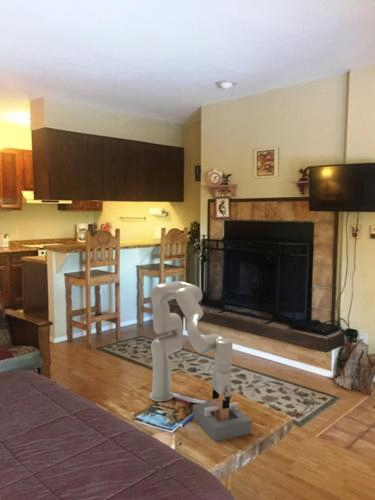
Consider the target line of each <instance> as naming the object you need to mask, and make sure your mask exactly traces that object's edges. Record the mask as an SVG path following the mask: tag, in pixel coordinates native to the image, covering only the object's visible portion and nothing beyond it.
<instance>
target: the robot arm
mask: <svg viewBox="0 0 375 500" xmlns="http://www.w3.org/2000/svg"><path fill="white" fill-rule="evenodd" d="M174 299H175V301H176V303H177V305H178V306H179V308H180V310H181V312H182V313H183V315H184V317H185V319H186V320H187V326H186V334H187V338H188V340H189V342H190V344H191V345H192V348H193V349H194V350H195V351H196V352H197V353H198V354H200V355H205V354H208V353H211V352H214V362H213V363H214V364H213V370H212V376H211V389H212V399H213V400H216V399H220V395H221V396H222V397H223V398H222V399H224V400H223V406H222V408H223V409H226V408H229V405H230V402H231V399H232V396H233V392H232V389H231V388H232V387H231V386H232V376H231V375H232V374H231V372H232V362H233V361H232V359H233V357H232V356H233V341H232V340H231V339H229V338H226V337H224V336H221V335H220V334H218V333H210V334H206V335H204V336H202V334H201V333H200V330H199V328H198V322H199V320H200V319H202V317H204V310H203V308H202V307H201V306H200V304H199V302H201V301H202V300H203V291H202V290H201V288H200V287H199V286H198V285H195V284H193V283H189V282H185V281H180V280H177V281H171V282H164V283H163V282H162V283H158V284H156V285H154V286H153V288H152V290H151V291H150V300H151V304H152V319H153V320H152V322H153V325H152V327H153V330H154V332H155V334H157V335H161V336H158V337H156V338H155V339H153V340H152V341H151V344H150V350H151V355H152V388H151V390H152V391H150V392H149V394H148V395H149V396H148V397H149V399H150V400H151V401H154V402H158V403H159V402H160V403H163V402H162V401H166V402H168V401H167V400H169V401H171V400H173V399H174V395H175V394H174V392H172V361H171V358H170V357H169V355H171V354H174V353H177V352H179V351H181V349H182V348H183V345H184V335H183V334H184V331H183V330H184V326H183V320H182V317H181V316H180V315H179V314H178V313H176V312H170V311H171V310H170V309H171V308H170V305H169V303H168V301H169V300H174ZM164 334H166V335H164ZM172 398H173V399H172ZM170 399H171V400H170Z"/></svg>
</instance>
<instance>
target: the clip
mask: <svg viewBox="0 0 375 500" xmlns="http://www.w3.org/2000/svg"><path fill="white" fill-rule="evenodd" d="M223 400H224V398H217V399H213V401H214V406H219V407H220V410H216V411H214V417H215V418H216V419H217V420H218V421H219V422H220V421H225V420H229V408H226V409H223V408H222V406H223Z"/></svg>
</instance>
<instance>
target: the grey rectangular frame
mask: <svg viewBox="0 0 375 500" xmlns="http://www.w3.org/2000/svg"><path fill="white" fill-rule="evenodd" d="M216 410H220V407H219V406H214V400H213V401H210V402H209V401H208V402H204V403H203V402H202V403H199V404H198V403H196V404H193V405H192V418H193V419H194V421H195V422H196V423H197V424H198V425H199V426H200V427H201V429H202V430H204V432H205V433H206V434H207V435H208V436H209V438H210V439H212V441H213V442H219V441H223V440H227V439H232V438H236V437H241V436H245V435H249V434H250V435H251V434H252V426H253V425H252V419H250V417H249V416H248V415H247V414H245V413H244V412H243V411H241V410H240V409H239V402H238V401H234V402H231V401H230V405H229V420H225V421H220V422H219V421H218V420H217V419H216V418H215V417H214V411H216Z"/></svg>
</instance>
